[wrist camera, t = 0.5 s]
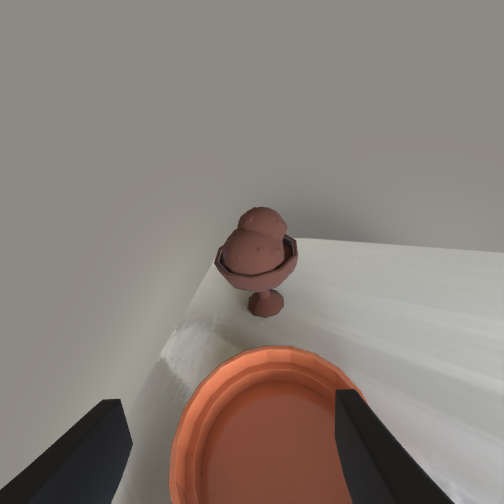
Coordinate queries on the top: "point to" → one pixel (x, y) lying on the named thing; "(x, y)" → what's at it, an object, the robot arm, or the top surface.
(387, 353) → the top surface
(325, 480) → the bowl
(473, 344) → the top surface
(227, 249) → the ice cream bowl
